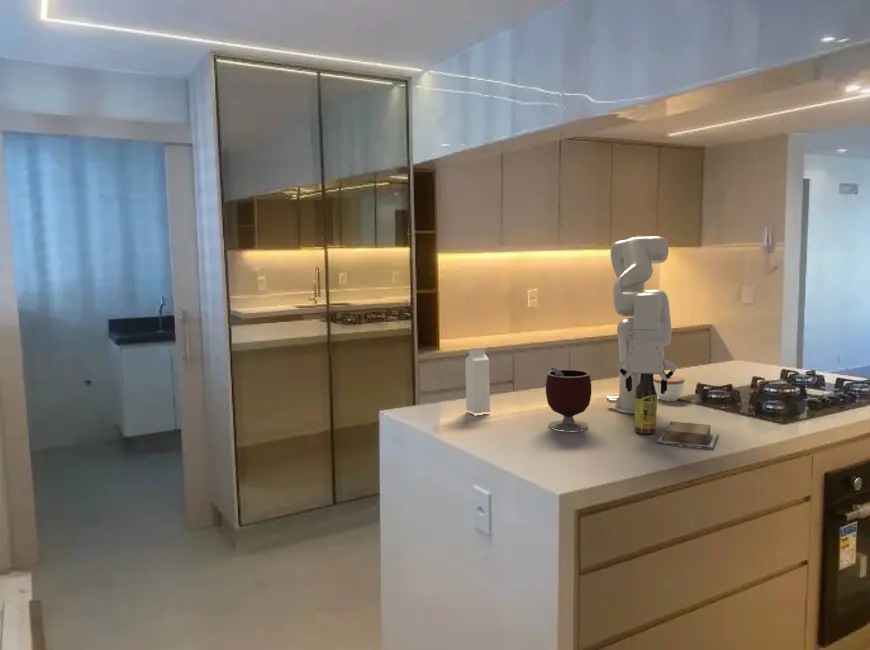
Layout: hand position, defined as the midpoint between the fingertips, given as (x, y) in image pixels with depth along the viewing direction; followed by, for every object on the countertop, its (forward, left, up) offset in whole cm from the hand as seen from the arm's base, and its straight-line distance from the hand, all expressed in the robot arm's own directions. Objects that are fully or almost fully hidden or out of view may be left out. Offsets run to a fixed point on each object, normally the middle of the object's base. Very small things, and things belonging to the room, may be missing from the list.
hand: (646, 392), depth 203 cm
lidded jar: (-1, +50, -13) cm, 51 cm away
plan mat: (+12, -3, -12) cm, 18 cm away
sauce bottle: (0, +1, -13) cm, 13 cm away
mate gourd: (-23, -3, -13) cm, 27 cm away
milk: (-56, +3, -13) cm, 58 cm away
